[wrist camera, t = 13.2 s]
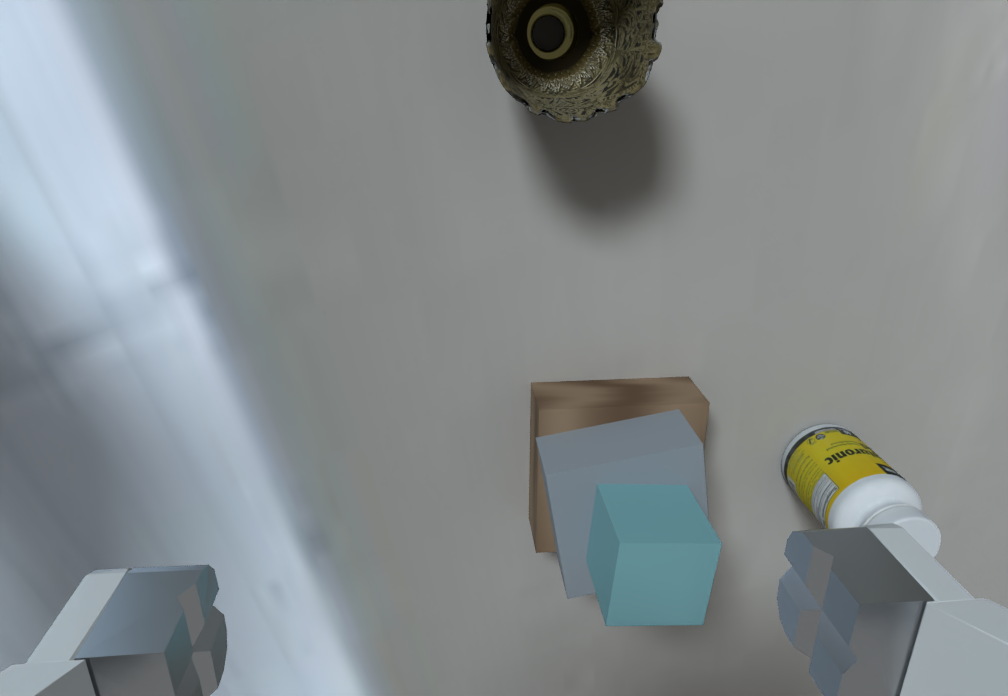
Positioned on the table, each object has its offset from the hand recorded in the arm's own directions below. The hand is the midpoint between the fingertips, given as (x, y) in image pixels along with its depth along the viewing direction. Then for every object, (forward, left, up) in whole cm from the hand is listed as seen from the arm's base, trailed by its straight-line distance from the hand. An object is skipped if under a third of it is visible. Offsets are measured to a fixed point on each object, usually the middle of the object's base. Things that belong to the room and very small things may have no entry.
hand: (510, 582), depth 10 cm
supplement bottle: (+24, -18, -31) cm, 43 cm away
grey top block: (+9, -17, -28) cm, 34 cm away
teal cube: (+9, -17, -24) cm, 30 cm away
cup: (+5, +8, -31) cm, 33 cm away
